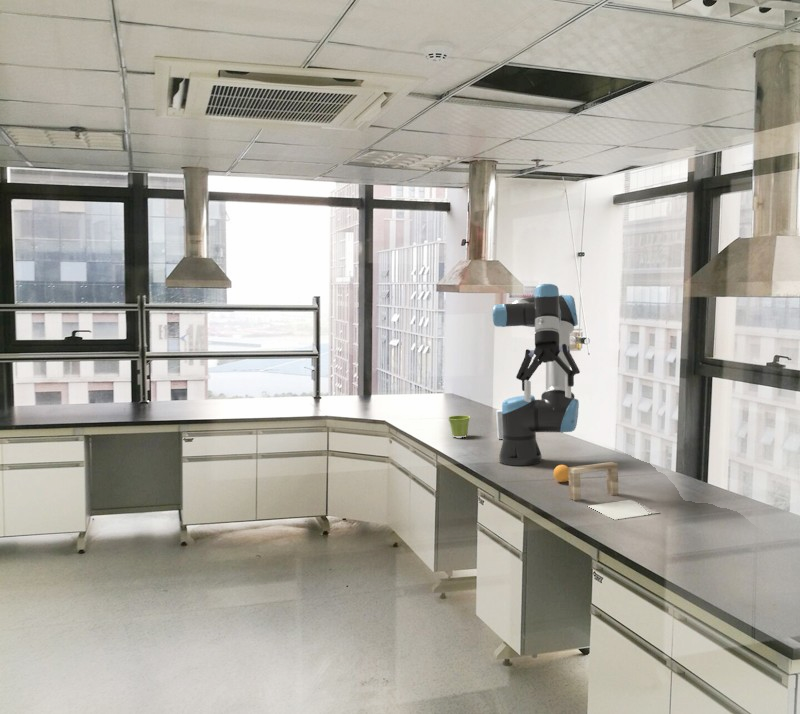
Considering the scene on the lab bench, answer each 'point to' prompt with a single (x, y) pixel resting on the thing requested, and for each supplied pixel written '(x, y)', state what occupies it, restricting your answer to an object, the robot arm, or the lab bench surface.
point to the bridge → (575, 471)
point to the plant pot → (459, 425)
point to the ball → (561, 473)
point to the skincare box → (499, 424)
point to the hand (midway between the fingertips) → (547, 399)
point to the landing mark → (620, 509)
